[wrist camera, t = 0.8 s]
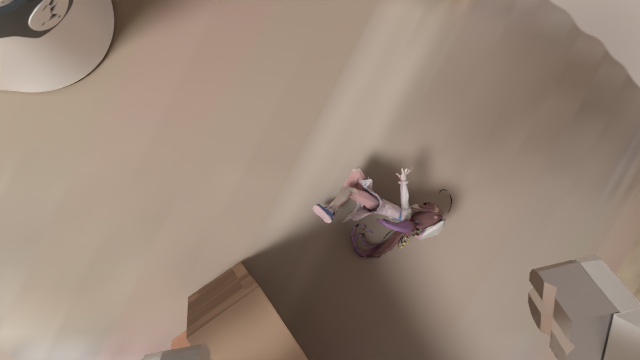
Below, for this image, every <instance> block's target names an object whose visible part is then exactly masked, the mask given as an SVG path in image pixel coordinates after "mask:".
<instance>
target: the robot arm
mask: <svg viewBox="0 0 640 360" xmlns="http://www.w3.org/2000/svg"><path fill="white" fill-rule="evenodd" d="M113 31H114V11H113V6H112V2H111V0H0V90H10V91H19V92H45V91H51V90H56V89H59V88H63V87H65V86H68V85H70V84H73V83H75V82H77V81H78V80H80V79H82V78H83V77H85V76H86V75H87V74H89V73H90V72H91V71H92V70H93V69H94V68H95V67H96V66H97V65H98V64H99V63H100V61H101V60H102V59H103V57H104V56H105V54H106V52H107V50H108V48H109V46H110V43H111V40H112V36H113ZM529 281H530V282H531V284H532V286H533V288H532V289H531V291H530V292H529V293H528V303H529V307H530V311H531V315H532V317H533V319H534V321H535V323H536V325H537V327H538V328H539V330H540V331H541V332H543V333H545V334H546V335H548V336H550V337H551V338H550V348H551V350H552V351H553V353H554V355H555V356H556V358H557V360H640V302H639V301H638V299H637V298H636V297H635V296H634V295H633V294H632V293H631V292H630V291H629V289H628V288H627V287H626V286H625V285H624V284H623V283H622V282H621V280H620V279H619V278H618V277H617V276H616V275H615V274H614V273H613V272H612V270H611V269H610V268H609V267H608V266H607V265H606V264H605V263H604V262H603V260H602V259H601V258H599V257H598V256H596V255H594V256H590V257H585V258H581V259H576V260H573V261H572V260H570V261H566V262H561V263H557V264H553V265H549V266H544V267H540V268H536V269H532V270H531V272H530V277H529ZM210 353H211V351H210V349H209V348H208V346H207V344H206V343H204V344H198V345H193V346H188V347H183V348H177V349H172V350H167V351H162V352H158V353H153V354H148V355H145V356H144V357H143V359H142V360H212V359H210Z"/></svg>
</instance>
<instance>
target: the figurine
mask: <svg viewBox="0 0 640 360" xmlns="http://www.w3.org/2000/svg"><path fill="white" fill-rule="evenodd" d="M409 170H410V171H411V170H412V168H409V169H408V171H407V168H406V170H405V172H404V171H403V168H402V169H401V171H402V175H399V174H398V173H396V174H397V175H398V177H399V178H400V180H401V181H399V182H398V183H399V184H401V185H400V192H401V207H400V205H399V206H397V205H395V204H393V203H391V202H389V201H386V200H385V199H383V198H381V197H380V196H378V195H377V194H376V193H375V191H374V190H373V189H372V184H373V180H372V179H369V176H368V177H365V175H364V174H363V172H362V171H361V170H360V168H354V169H353V171H352V172H351V174H350V175H349V177H348V178H347V180H346V181H345V183H344V185H343V186H342V188H341V190H340V191H339V193H338V195H337V196H336V198H335V200H334V201H333V202H331V204H330V206H328V207H322V206H321V205H320V204H317V205H315V206H314V207H313V211H314V212H315V213H316V215H318V216H319V217H321V218H322V219H323V220H324V221H325V222H326V223H331V221H332V220H333V217H334V216H335V213H336V211H337V208H338V207H340V206H341V205H342V204H343V203H344V202H345V201H347V200H348V199H349V198H351V199H353V200H355V201H356V206H355V208H354V210H353V211H352V212H351V213H350V214H349V215H348V216H347V217H346V218H345V219H344V221H343V222H346V221H348V220H350V219H351V218H352V219H353V220H354V221H357V220H359V219H361V218H363V217H365V216H367V215H369V214H371V213H377V214H381V215H385V216H388V217H389V218H392V219H394V220H395V221H398V222H399V223H394V222H390V221H388V220H385V219H382V220H381V219H377V221H378V222H380V223H381V224H382V225H384V226H386V227H388V228H390V229H392V230H395V231H397V232H396V233H395V234H394V235H393V236H392V237H390V238H389V239H388V240H387V241H386V242H384V243H380V244H379V245H377V246H379V247H377V246H369V245H367V244H366V243H365V242H364V240H363V239H364V238H365V237H364V238H362V242H363V243H364V245H365V246H367V247H377V248H373V249H370V250H367V251H364V252H360V251H359V249H358V248H357V246H356V244H355V242H356V238H357V236H358V235H359V234H358V235H356V236H355V239H354V235H353V233H354V230H355V229H356V228H357V227H358V226H359V225H360V224H357V225H356V226H355V227H354V228H353V229H352V234H351V240H352V242H353V245H354V250H355V252H357V254H358V255H359V254H360V255H359V256H360V257H363V258H374V257H378V258H379V257H380V256H381V255H383V254H384V253H386V252H388V251H390V250H391V249H392V248H393V247H394V246H395V245H396V244H397V243H398V242H400V240H401V243H402V244H403V245H404V244H408V243H409V238H408V243H405V242H406V238H405V241H404V243H403V242H402V239H403V237H404V236H405V235H406V237H408V234H409V232H410V234H412V236H413V234H415V235H414V236H415V238H417V239H425V238H428V237H432V236H436V235H437V234H439V233H440V231H441V230H442V229H443V228H444V226H445V218H444V216H443V213H442V211H441V210H440V209H439V207H438V206H437V205H435V204H433V203H430V202H426V203H424V205H419V204H418V205H417V204H415V205H412V206H410V207H409V205H408V197H409V194H408V188H407V184H408V182H409V181H406V176H407V174H408V173H409V172H410V171H409ZM443 190H444V189H443ZM440 191H442V190H440ZM446 191H447V190H446ZM439 194H440V193H439ZM450 198H451V196H450ZM451 205H452V199H451ZM450 208H451V207H450ZM449 211H450V209H449ZM361 225H364V224H361ZM364 226H365V228H366V225H364ZM360 230H361V228H360ZM362 230H364V229H362ZM392 230H391V231H392ZM367 231H370V232H372V231H371V230H367ZM367 231H365V232H367ZM391 231H390V232H391ZM390 232H389V233H390ZM372 233H373V232H372ZM389 233H388V234H389ZM360 234H361V233H360ZM388 234H387V235H388ZM363 235H364V234H362V237H363ZM387 235H386V236H387ZM364 236H365V235H364ZM386 236H385V237H386ZM409 236H411V235H409ZM385 237H384V238H385ZM382 241H383V240H382ZM382 244H383V245H382ZM398 244H399V243H398ZM380 245H381V246H380ZM398 247H399V245H398ZM402 247H403V246H402ZM402 247H401V248H402ZM399 248H400V247H399ZM361 255H364V256H361Z"/></svg>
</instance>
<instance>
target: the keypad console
mask: <svg viewBox="0 0 640 360" xmlns="http://www.w3.org/2000/svg"><path fill="white" fill-rule="evenodd" d="M186 339H187V340H188V342H189V343H190V344H191V346H193V345H198V344H204V343H206V344H207V346H208V348H209V349H210V351H211V353H210V359H212V360H308V359H307V357H306V356H305V354H304V353H303V351H302V350H301V348H300V347H299V345H298V344H297V342H296V341H295V339H294V337H293V336H292V334H291V333H290V331H289V330H288V328H287V327H286V325H285V324H284V322H283V321H282V319H281V318H280V316H279V315H278V313H277V312H276V310H275V309H274V307H273V306H272V304H271V303H270V301H269V300H268V298H267V297H266V295H265V294H264V292H263V291H262V289H261V288H260V286H259V285H258V284H257V283H256V281H255V280H254V279H253V277H252V276H251V275H250V274H249V272H248V271H247V270H246V269H245V267H244V266H243V265H242V263H241V262H239V263H238V264H236V265H235V266H233V267H232V268H230V269H229V270H227V271H226V272H224V273H223V274H222V275H220V276H219V277H217V278H216V279H214V280H213V281H211V282H210V283H208V284H207V285H206V286H204V287H203V288H201V289H200V290H198V291H197V292H195V293H194V294H192V295H191V296H190V297H188V315H187V336H186Z"/></svg>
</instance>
